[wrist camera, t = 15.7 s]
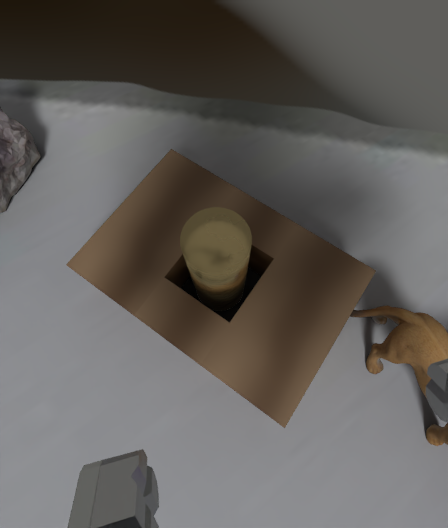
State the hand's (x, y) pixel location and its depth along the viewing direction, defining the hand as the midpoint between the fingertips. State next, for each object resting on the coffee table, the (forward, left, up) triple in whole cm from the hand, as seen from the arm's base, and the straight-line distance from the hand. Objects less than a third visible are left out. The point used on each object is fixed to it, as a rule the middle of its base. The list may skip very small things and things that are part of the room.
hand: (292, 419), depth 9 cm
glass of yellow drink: (-7, +6, -17) cm, 19 cm away
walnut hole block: (-7, +6, -17) cm, 19 cm away
